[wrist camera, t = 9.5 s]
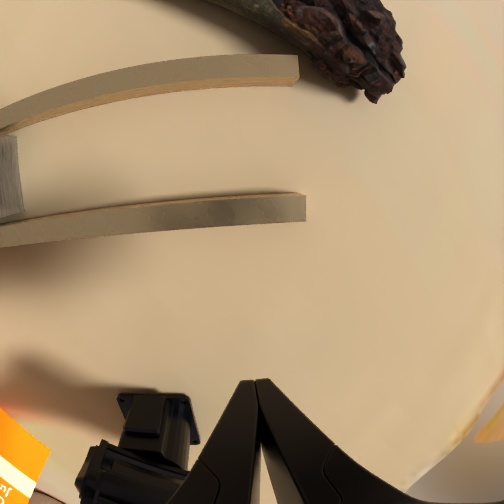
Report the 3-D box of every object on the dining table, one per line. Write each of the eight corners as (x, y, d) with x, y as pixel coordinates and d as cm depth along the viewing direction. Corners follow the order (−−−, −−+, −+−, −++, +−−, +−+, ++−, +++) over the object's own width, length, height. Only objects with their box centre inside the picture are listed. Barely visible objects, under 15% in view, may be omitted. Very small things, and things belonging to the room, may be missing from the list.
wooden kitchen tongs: (298, 301, 21) (339, 381, 12) (-51, 307, 18) (-99, 342, 10) (290, 65, 16) (335, 0, 8) (-75, 159, 14) (-131, 168, 6)
